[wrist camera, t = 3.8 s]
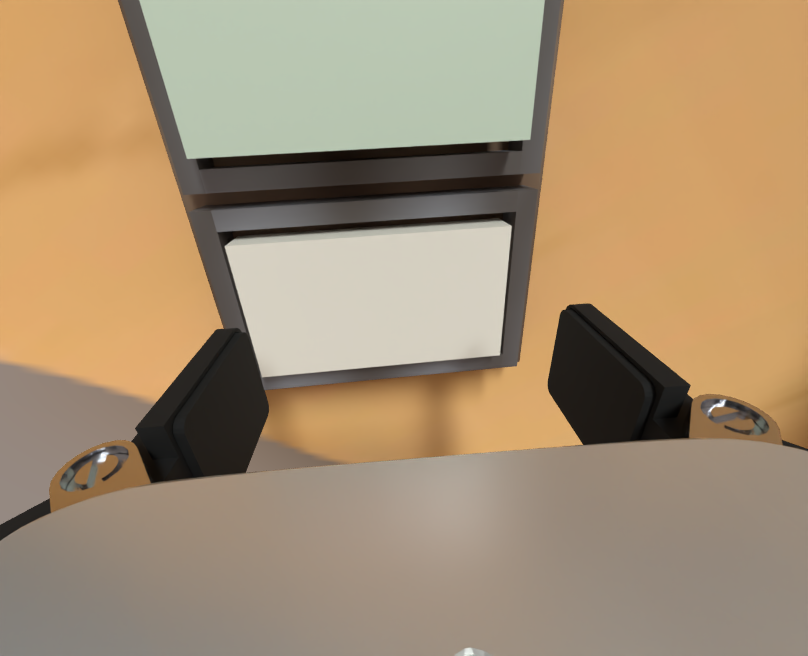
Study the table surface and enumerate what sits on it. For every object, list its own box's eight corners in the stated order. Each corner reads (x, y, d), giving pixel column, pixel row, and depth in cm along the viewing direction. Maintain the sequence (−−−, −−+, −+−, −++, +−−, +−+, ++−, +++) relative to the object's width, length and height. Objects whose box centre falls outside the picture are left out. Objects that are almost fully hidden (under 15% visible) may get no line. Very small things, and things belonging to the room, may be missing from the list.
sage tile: (532, -94, 10) (558, -130, 9) (512, 139, 13) (530, 139, 12) (139, -87, 10) (101, -126, 8) (207, 156, 13) (186, 158, 11)
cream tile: (498, 218, 15) (511, 225, 14) (489, 338, 18) (499, 355, 17) (237, 236, 15) (224, 246, 13) (270, 358, 18) (262, 377, 16)
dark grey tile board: (623, -722, 8) (750, -1145, 5) (509, 347, 21) (530, 377, 19) (-100, -792, 7) (-376, -1341, 4) (250, 371, 20) (233, 406, 18)
